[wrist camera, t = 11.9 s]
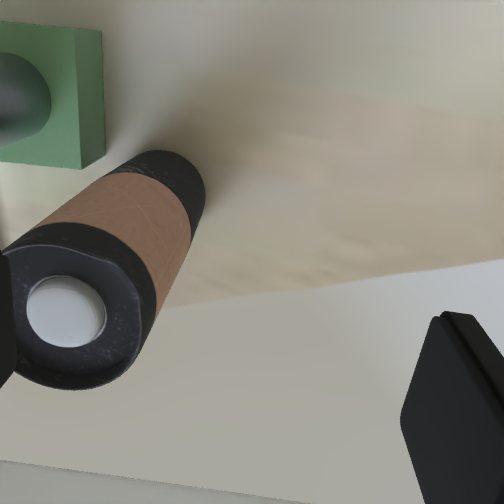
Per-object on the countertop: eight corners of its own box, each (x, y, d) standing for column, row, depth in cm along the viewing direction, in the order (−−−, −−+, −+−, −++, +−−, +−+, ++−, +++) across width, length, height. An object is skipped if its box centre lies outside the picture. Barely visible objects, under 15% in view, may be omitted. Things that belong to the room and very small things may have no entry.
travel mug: (112, 225, 40) (-29, 374, 22) (121, 136, 37) (-34, 221, 19) (200, 245, 40) (135, 408, 22) (217, 157, 37) (156, 262, 19)
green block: (-22, 19, 34) (-68, 14, 30) (101, 31, 34) (74, 28, 30) (-6, 144, 38) (-46, 157, 33) (105, 155, 38) (81, 170, 33)
